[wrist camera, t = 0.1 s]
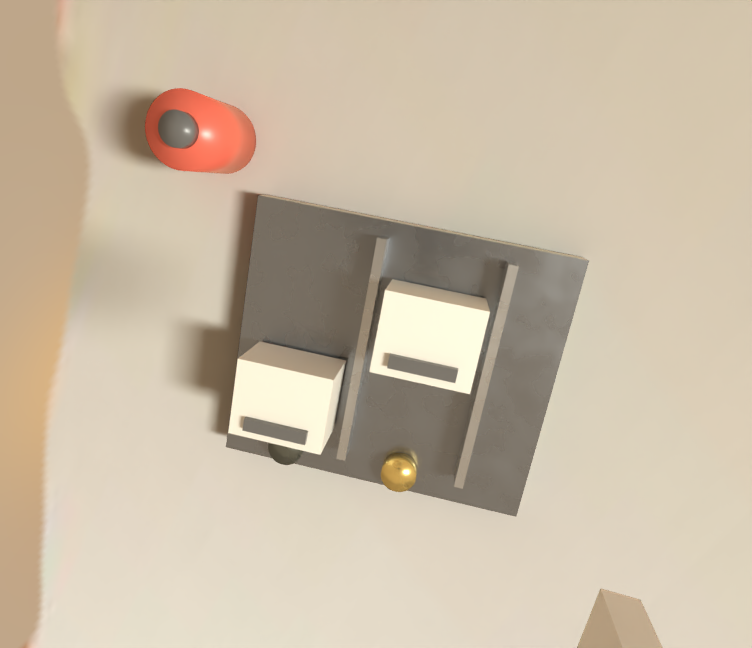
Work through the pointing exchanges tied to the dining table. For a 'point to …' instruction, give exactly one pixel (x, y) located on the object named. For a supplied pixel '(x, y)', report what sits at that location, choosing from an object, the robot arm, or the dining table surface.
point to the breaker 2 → (430, 336)
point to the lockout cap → (199, 133)
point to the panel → (402, 397)
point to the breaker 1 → (286, 396)
